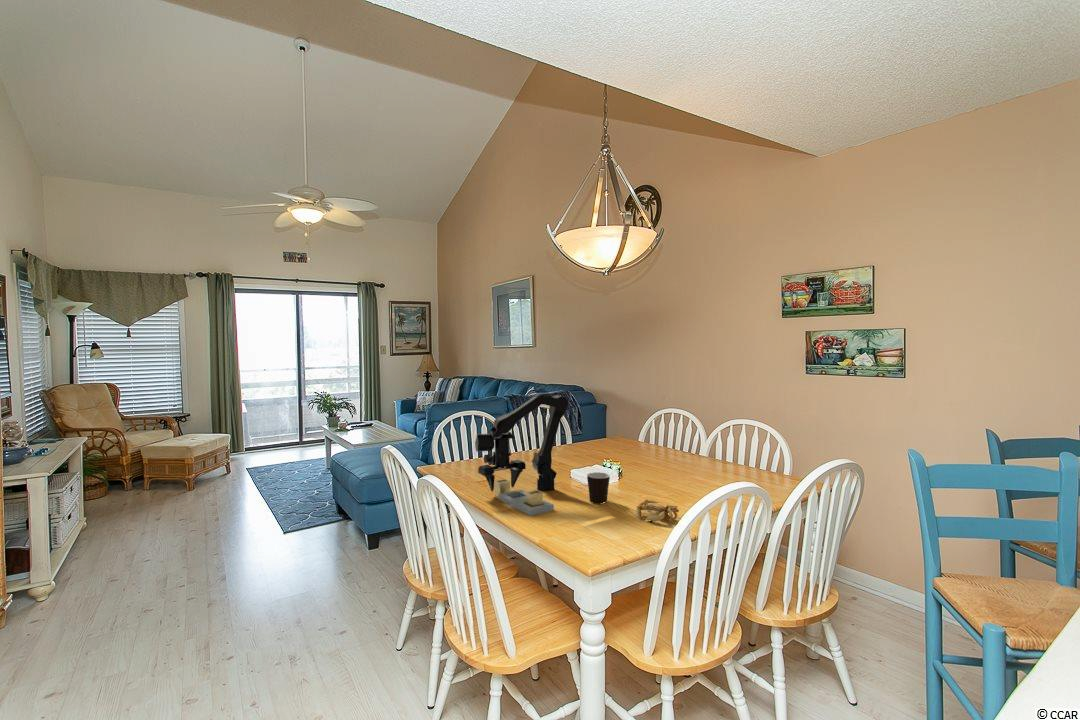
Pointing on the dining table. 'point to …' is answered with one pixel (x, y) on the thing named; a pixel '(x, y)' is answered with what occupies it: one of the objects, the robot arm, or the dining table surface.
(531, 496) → the block
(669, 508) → the crab model
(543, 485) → the robot arm
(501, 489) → the block
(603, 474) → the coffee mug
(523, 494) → the grey slotted plate
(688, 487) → the dining table surface
